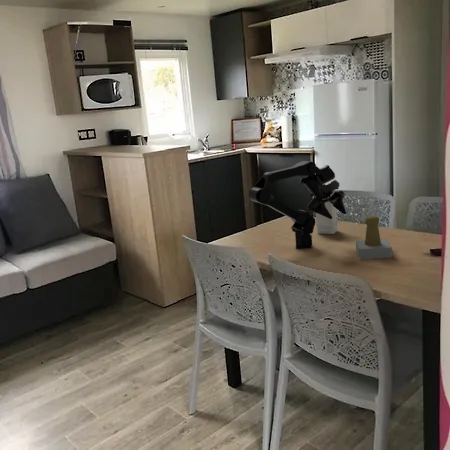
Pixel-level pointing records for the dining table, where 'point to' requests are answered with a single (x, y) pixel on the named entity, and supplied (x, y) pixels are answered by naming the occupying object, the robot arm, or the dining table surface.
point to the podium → (373, 250)
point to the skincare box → (327, 221)
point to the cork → (372, 231)
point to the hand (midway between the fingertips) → (338, 216)
